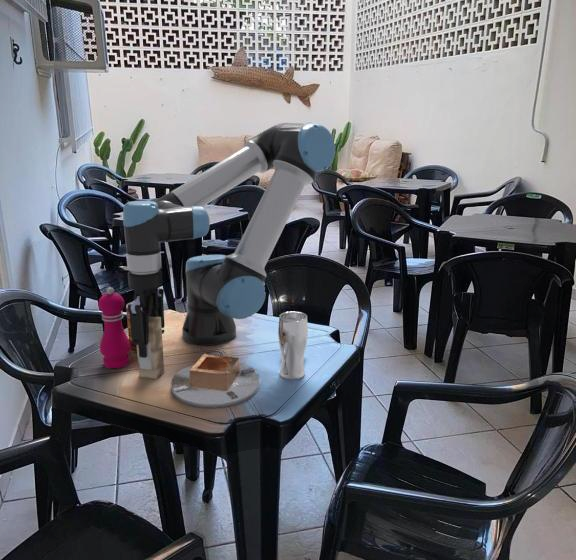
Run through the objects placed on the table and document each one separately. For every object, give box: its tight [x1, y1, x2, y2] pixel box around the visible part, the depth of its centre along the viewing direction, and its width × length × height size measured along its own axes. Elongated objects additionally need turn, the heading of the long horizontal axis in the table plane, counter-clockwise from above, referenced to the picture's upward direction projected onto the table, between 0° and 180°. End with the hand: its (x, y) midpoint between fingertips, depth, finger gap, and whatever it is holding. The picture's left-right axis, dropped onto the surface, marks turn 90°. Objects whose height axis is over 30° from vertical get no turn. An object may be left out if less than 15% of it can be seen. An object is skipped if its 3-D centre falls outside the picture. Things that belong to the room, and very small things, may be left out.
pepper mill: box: [98, 286, 131, 369], centre depth 129 cm, size 7×7×20 cm
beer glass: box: [277, 310, 309, 381], centre depth 126 cm, size 7×7×15 cm
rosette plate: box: [170, 353, 260, 409], centre depth 121 cm, size 20×20×6 cm
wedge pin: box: [136, 316, 165, 380], centre depth 125 cm, size 4×4×14 cm
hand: (151, 363), depth 126 cm, fingers closed on wedge pin, 4 cm apart
